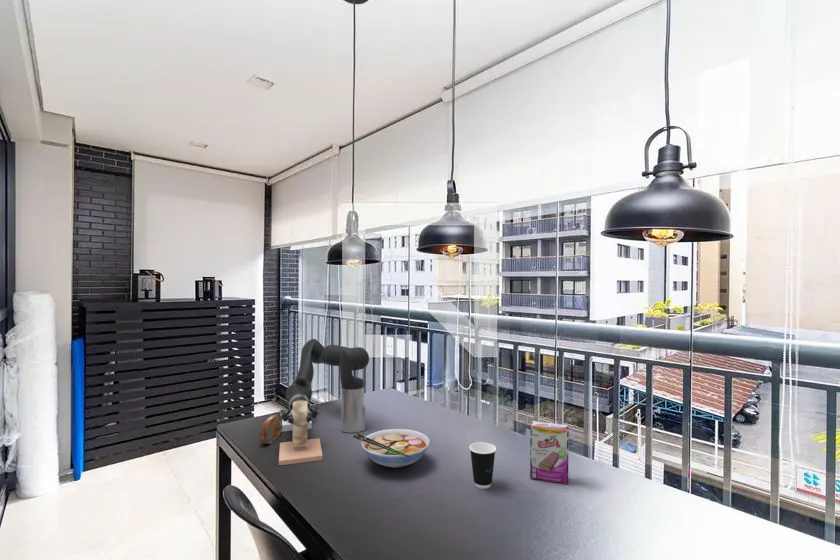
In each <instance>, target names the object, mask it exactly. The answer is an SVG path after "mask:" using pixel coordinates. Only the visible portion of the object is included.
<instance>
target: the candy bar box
mask: <svg viewBox="0 0 840 560" xmlns="http://www.w3.org/2000/svg"><path fill="white" fill-rule="evenodd" d="M569 431H570V428H569V425H568V424H562V423H561V424H560V423H554V422H552V423H550V422H544V421H535V420H532V421H531V423H530V440H529V441H530V447H529V448H530V451H529V452H530V454H529V455H530V457H529V458H530V461H529V462H530V463H529V465H530V466H529V478H530V479H532V480H537V481H543V482H544V481H545V482H551V483H557V484H564V485H569V459H570V458H569V455H570V454H569V451H570V449H569V445H570V444H569V443H570V442H569V439H570V438H569V437H570V435H569V434H570V433H569Z"/></svg>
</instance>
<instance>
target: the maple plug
mask: <svg viewBox="0 0 840 560" xmlns="http://www.w3.org/2000/svg"><path fill="white" fill-rule="evenodd" d="M307 440H308V429H307V401H304V400H300V401H295V402H293V431H292V441H293V444H294V445H303V444H305V443H307Z"/></svg>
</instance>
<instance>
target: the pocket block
mask: <svg viewBox="0 0 840 560" xmlns="http://www.w3.org/2000/svg"><path fill="white" fill-rule="evenodd" d="M312 422H313V421H312V420H311V421H310V423H307V430H310V429H311V430H312V428H313V425H312V424H313V423H312ZM282 432H283V433H284V432H293V424H291V423H289V420H287V421H283V420H282V430H281V433H282Z"/></svg>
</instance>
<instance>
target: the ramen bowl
mask: <svg viewBox="0 0 840 560" xmlns="http://www.w3.org/2000/svg"><path fill="white" fill-rule="evenodd" d="M352 438H353V439H356V440H360V443H361V447H362V449H363V451H364V452H365V454H366V456H367V457H368V458H369V459H371V460H372V461H373V462H375V464H377V465H381V466H384V467H388V468H391V469H392V468H394V469H397V468H402V467H405V466H408V465H409V466H410V465H413V464H414V463H416V461H418V460H419V459H421V458H422V457H423V455H425V453H426V451H427V449H428V447H429V444H430V442H431V440H430V438H429V437H428V436H427V435H426V434H424V433H422V432H421V431H416V430H411V429H405V428H404V429H403V428H392V429H391V428H390V429H383V430H378V431H375V432H372V433H370V434H368V435H362V434H360V433H357V434H356V435H355V434H353V436H352Z"/></svg>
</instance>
